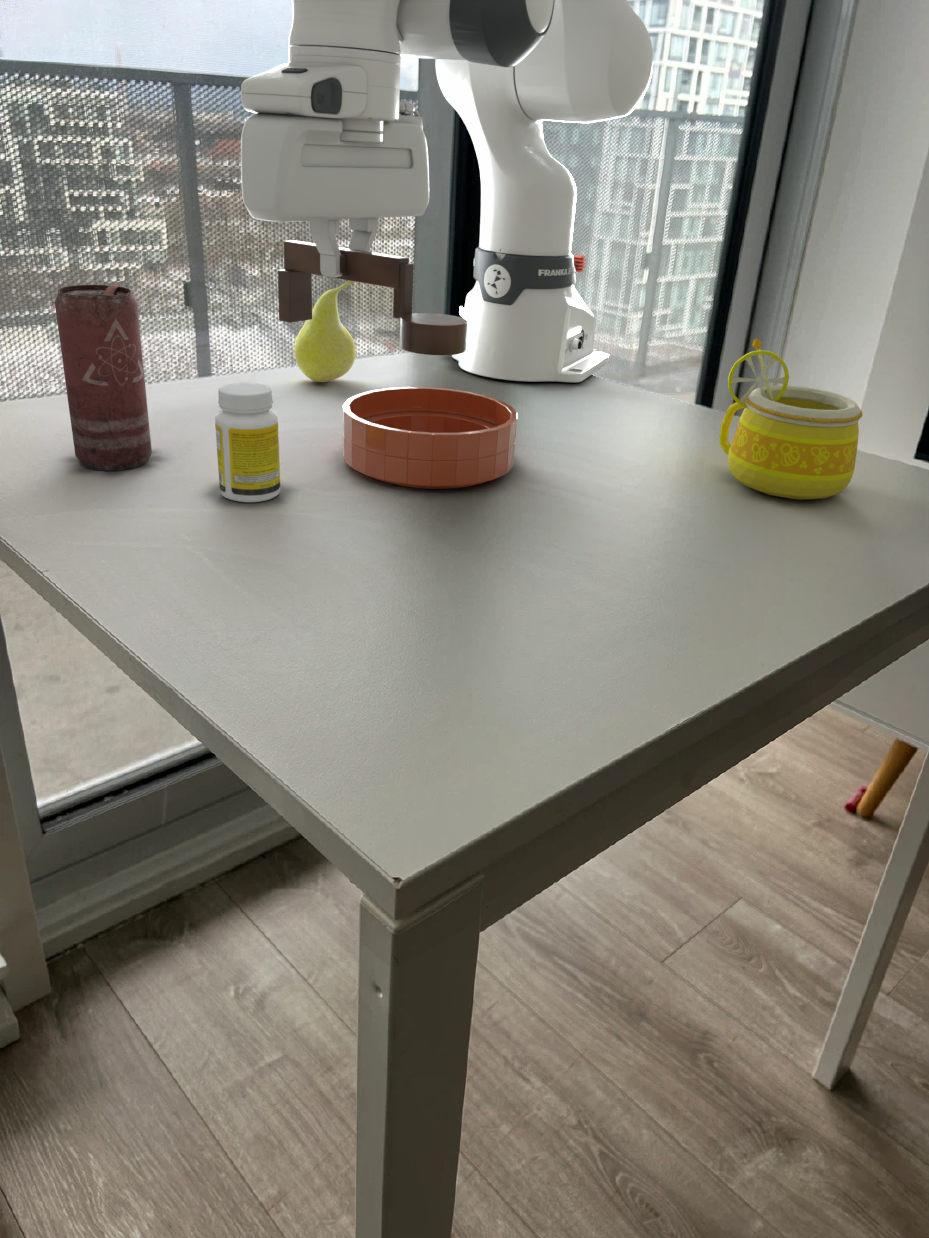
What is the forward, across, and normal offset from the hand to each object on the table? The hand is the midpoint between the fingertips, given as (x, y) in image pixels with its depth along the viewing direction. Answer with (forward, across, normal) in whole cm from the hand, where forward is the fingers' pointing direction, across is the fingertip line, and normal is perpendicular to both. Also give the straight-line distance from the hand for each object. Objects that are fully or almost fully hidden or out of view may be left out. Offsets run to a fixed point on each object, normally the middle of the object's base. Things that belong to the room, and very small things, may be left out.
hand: (344, 275), depth 82 cm
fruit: (+15, -16, -16) cm, 27 cm away
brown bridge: (+5, 0, +3) cm, 6 cm away
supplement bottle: (+15, +16, +4) cm, 22 cm away
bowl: (+15, 0, +10) cm, 18 cm away
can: (+15, +18, -10) cm, 26 cm away
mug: (+15, -18, +36) cm, 43 cm away
